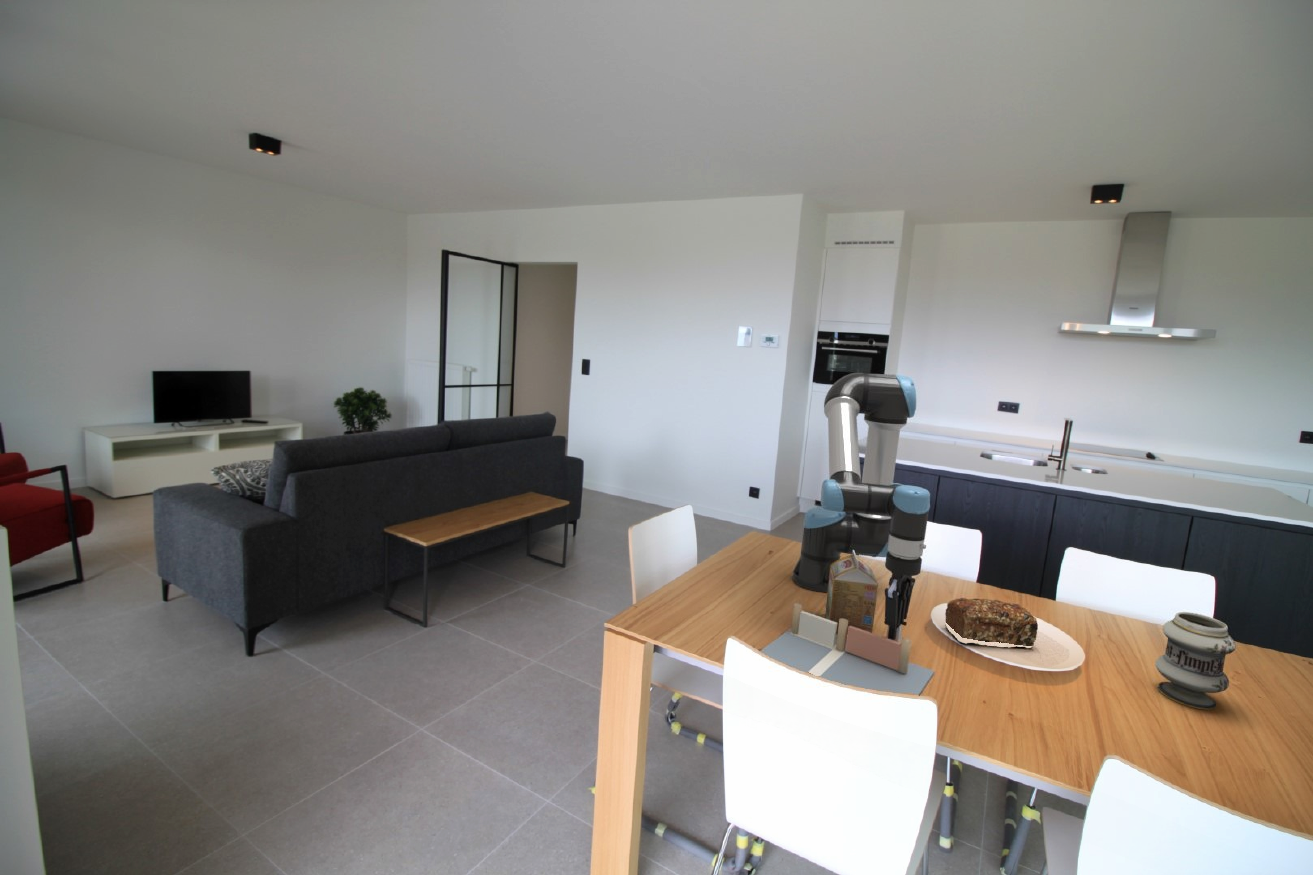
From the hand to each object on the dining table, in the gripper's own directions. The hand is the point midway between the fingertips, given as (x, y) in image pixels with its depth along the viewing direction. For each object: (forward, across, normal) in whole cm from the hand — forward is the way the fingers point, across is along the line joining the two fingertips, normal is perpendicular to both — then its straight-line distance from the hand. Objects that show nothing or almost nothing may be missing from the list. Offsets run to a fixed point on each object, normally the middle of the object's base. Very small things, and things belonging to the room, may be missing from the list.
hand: (891, 650), depth 140 cm
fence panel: (+1, -6, +1) cm, 6 cm away
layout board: (+2, -11, +6) cm, 13 cm away
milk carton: (+2, +9, +15) cm, 17 cm away
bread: (+3, +30, -13) cm, 33 cm away
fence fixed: (+2, -6, +15) cm, 17 cm away
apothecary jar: (+2, +35, -52) cm, 62 cm away
